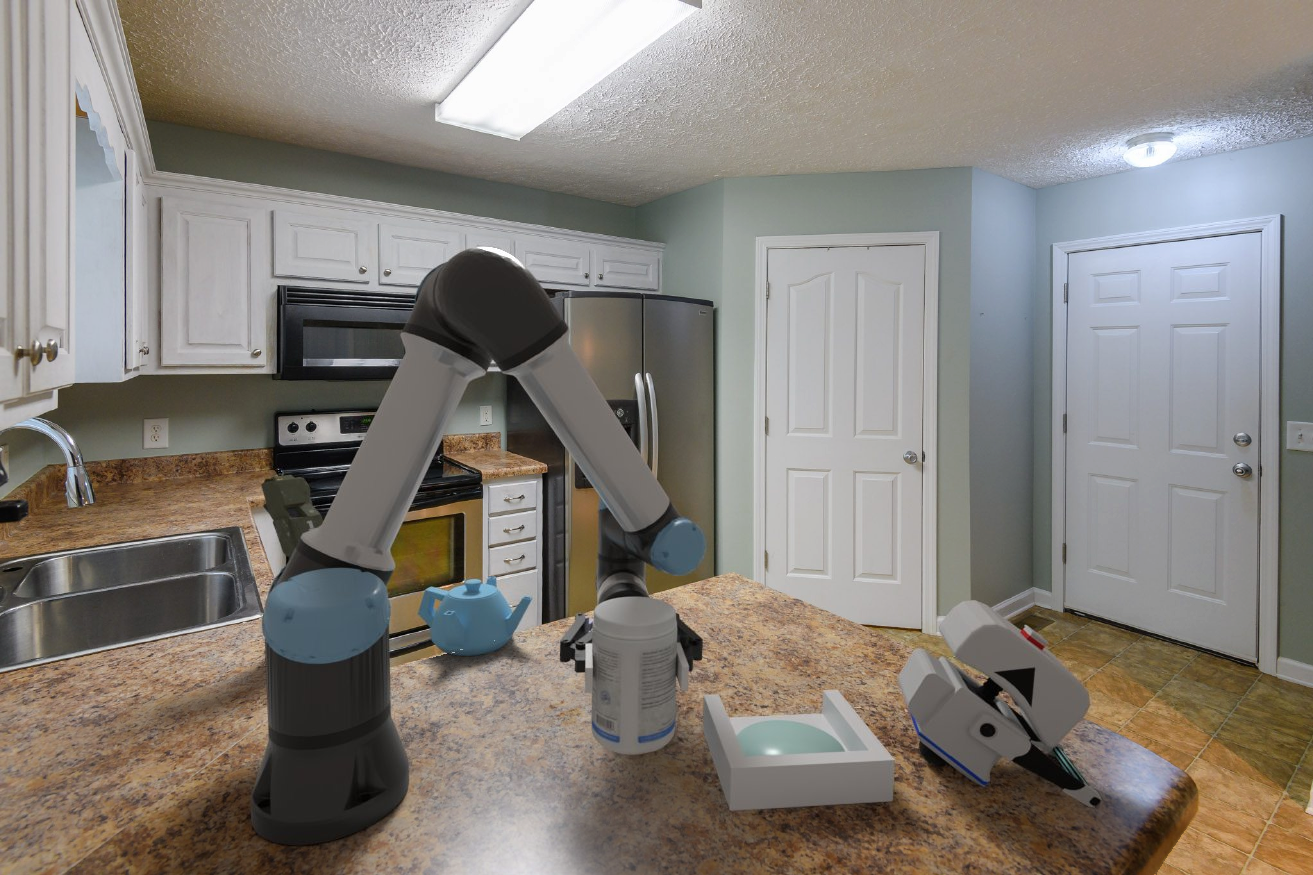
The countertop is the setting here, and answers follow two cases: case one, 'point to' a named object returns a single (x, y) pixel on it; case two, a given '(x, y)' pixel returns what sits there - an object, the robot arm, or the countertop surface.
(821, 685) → the countertop surface
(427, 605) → the teapot
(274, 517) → the mechanical leg
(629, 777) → the countertop surface
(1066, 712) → the robotic device
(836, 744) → the housing
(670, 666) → the supplement tub
